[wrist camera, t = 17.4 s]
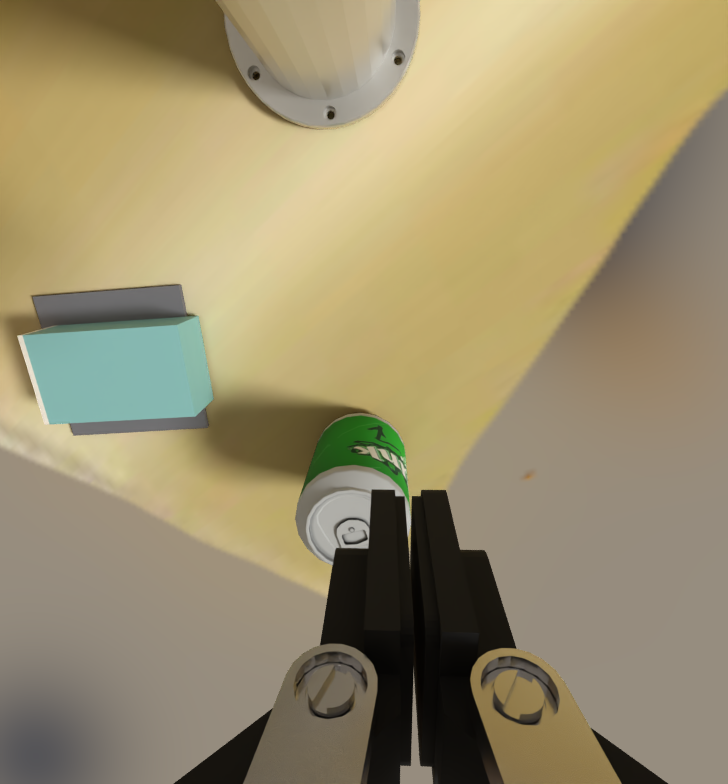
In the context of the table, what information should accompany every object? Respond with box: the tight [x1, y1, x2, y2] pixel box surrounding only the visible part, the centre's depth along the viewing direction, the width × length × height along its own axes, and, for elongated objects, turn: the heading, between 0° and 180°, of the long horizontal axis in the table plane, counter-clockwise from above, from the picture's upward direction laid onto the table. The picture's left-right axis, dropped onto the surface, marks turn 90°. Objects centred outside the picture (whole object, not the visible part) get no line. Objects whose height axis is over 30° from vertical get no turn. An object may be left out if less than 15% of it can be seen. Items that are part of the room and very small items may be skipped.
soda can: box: [295, 413, 411, 566], centre depth 35 cm, size 8×8×12 cm
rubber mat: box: [33, 285, 209, 436], centre depth 39 cm, size 12×12×1 cm
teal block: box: [17, 316, 214, 425], centre depth 37 cm, size 7×4×12 cm
